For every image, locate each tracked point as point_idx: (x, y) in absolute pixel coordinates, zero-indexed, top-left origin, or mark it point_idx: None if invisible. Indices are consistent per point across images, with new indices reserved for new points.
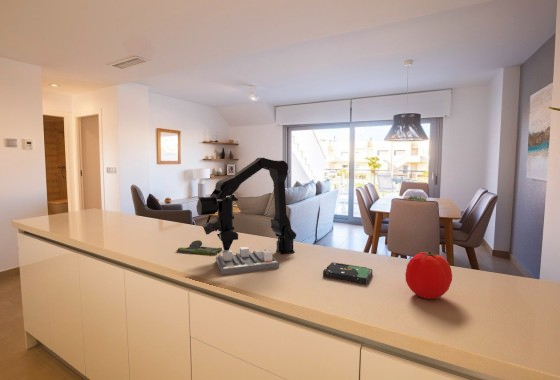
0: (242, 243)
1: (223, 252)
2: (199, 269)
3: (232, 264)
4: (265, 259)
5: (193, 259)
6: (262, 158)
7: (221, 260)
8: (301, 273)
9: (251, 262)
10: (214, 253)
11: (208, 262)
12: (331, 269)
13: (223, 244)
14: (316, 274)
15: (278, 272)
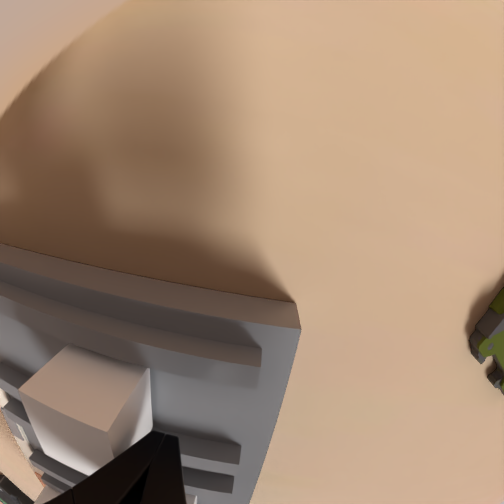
0: (490, 479)
1: (44, 399)
2: (141, 85)
3: (18, 357)
4: (47, 489)
5: (472, 118)
6: None
7: (35, 312)
8: (17, 472)
9: None
10: (481, 340)
11: (315, 220)
12: (8, 497)
13: (50, 501)
14: (16, 481)
15: (18, 449)
